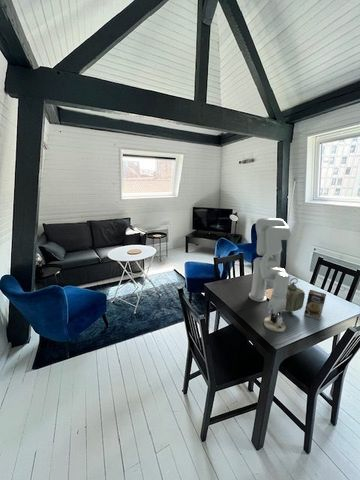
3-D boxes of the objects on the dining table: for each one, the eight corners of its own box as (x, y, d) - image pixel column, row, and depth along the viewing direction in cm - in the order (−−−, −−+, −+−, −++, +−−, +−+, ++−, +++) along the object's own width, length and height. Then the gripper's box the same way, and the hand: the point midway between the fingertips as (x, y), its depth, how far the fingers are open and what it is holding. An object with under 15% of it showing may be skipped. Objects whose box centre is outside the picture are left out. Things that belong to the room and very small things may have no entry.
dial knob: (268, 318, 128) (270, 310, 126) (272, 318, 129) (273, 309, 127) (279, 328, 119) (280, 319, 117) (282, 328, 120) (284, 319, 118)
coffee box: (303, 314, 136) (308, 292, 132) (305, 310, 141) (309, 289, 137) (320, 320, 130) (325, 297, 126) (321, 315, 135) (326, 293, 131)
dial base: (261, 318, 131) (261, 316, 131) (280, 319, 130) (281, 317, 130) (267, 331, 120) (267, 328, 119) (288, 332, 119) (289, 330, 118)
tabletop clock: (290, 307, 144) (296, 274, 138) (302, 314, 136) (309, 279, 130) (274, 311, 139) (280, 277, 132) (286, 319, 131) (292, 283, 124)
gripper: (283, 287, 126) (279, 314, 131) (264, 293, 119) (260, 320, 124) (294, 293, 120) (289, 321, 124) (274, 299, 113) (270, 328, 117)
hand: (275, 320), depth 124 cm, fingers closed on dial knob, 3 cm apart
